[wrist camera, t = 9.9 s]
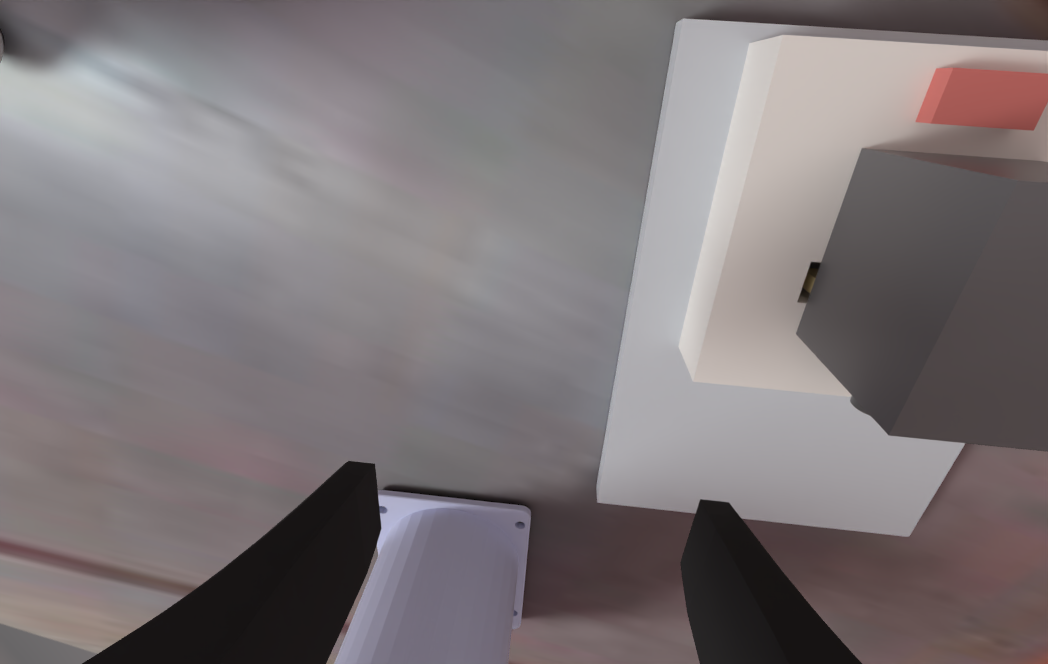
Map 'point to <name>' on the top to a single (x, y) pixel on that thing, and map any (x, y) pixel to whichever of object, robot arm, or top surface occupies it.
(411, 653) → the robot arm
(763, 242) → the socket plate
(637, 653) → the top surface
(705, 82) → the socket mat
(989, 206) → the plug
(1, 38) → the light bulb
